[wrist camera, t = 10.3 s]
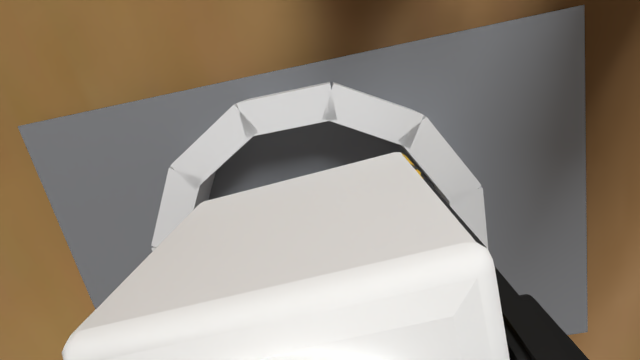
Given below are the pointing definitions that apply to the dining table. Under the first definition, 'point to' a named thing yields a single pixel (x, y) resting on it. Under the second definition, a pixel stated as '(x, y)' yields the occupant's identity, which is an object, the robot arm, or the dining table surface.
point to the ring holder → (350, 149)
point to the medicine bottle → (309, 278)
